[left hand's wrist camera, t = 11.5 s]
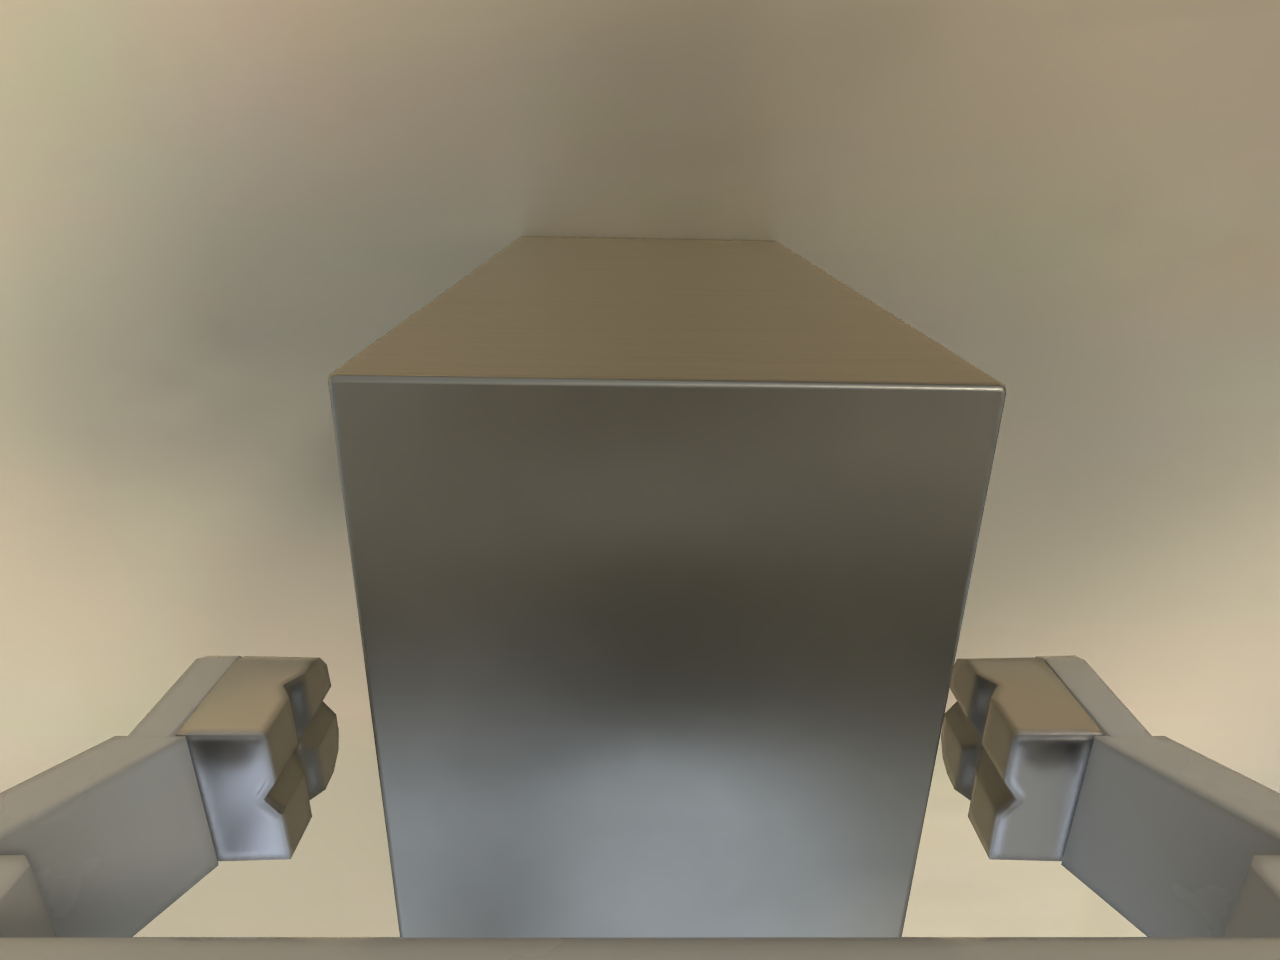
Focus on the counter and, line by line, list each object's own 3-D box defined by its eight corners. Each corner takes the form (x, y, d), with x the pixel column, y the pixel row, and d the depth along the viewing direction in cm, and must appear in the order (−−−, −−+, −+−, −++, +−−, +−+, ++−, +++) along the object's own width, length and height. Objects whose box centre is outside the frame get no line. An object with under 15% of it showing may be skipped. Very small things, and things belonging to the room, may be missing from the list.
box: (519, 236, 19) (323, 373, 7) (777, 240, 19) (1012, 384, 7) (544, 908, 27) (471, 1499, 15) (725, 910, 27) (794, 1499, 15)
